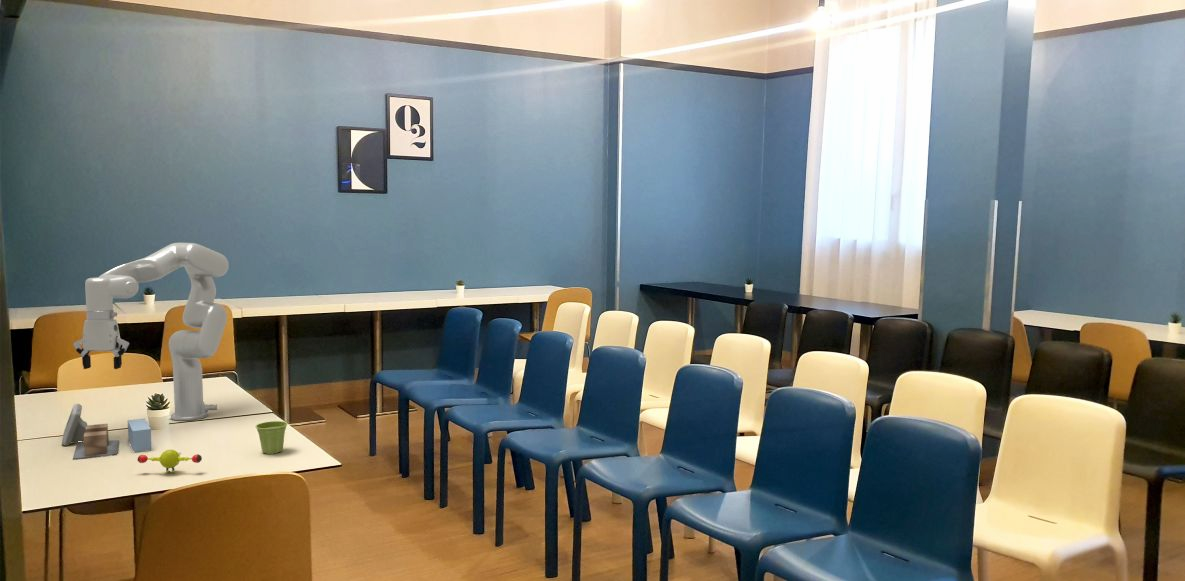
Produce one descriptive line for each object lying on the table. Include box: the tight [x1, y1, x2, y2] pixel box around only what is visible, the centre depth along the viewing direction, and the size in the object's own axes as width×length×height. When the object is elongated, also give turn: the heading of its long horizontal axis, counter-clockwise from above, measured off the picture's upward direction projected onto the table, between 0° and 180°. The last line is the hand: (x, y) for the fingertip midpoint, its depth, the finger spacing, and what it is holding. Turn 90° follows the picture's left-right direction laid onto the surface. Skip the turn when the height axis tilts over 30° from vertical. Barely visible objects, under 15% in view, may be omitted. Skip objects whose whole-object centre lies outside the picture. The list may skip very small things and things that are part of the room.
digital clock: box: [61, 403, 88, 446], centre depth 289 cm, size 16×9×11 cm, turn 17°
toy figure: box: [137, 449, 203, 474], centre depth 255 cm, size 18×6×7 cm, turn 92°
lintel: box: [127, 418, 153, 453], centre depth 283 cm, size 5×16×7 cm, turn 33°
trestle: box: [72, 423, 120, 460], centre depth 278 cm, size 12×18×6 cm, turn 27°
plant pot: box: [255, 420, 288, 455], centre depth 277 cm, size 9×9×9 cm
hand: (102, 368), depth 287 cm, fingers open, 9 cm apart
